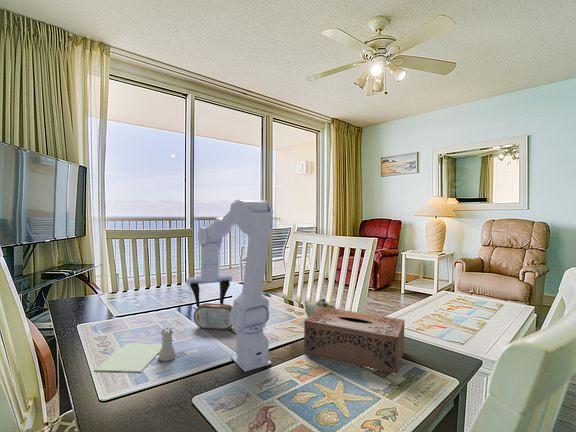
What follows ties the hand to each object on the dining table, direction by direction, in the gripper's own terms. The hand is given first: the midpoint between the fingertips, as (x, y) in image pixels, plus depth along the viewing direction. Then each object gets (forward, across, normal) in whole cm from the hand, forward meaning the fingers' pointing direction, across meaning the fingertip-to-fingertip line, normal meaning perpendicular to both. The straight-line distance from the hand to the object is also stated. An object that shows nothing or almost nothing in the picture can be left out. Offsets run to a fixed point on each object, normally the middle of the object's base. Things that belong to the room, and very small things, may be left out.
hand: (209, 304), depth 106 cm
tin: (+10, -3, -4) cm, 11 cm away
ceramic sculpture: (+10, -41, +3) cm, 43 cm away
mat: (+10, +22, +8) cm, 26 cm away
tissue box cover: (+10, -37, +29) cm, 48 cm away
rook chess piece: (+10, +14, +12) cm, 21 cm away
